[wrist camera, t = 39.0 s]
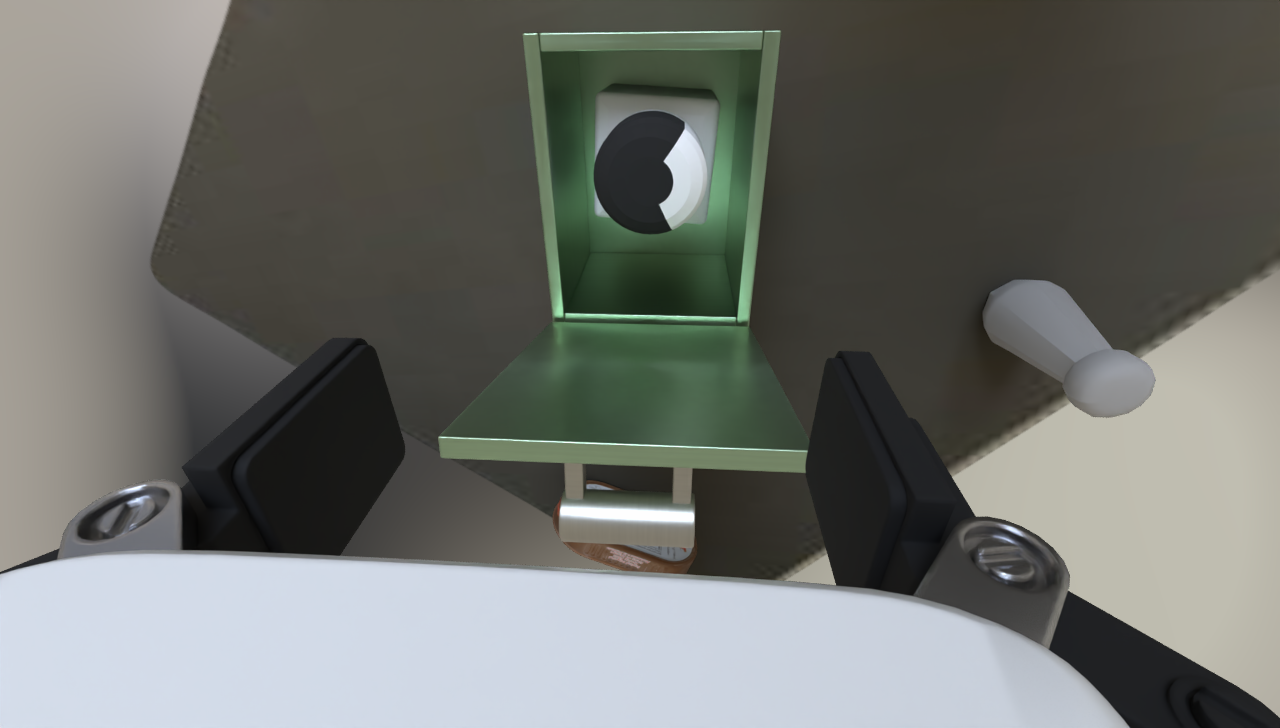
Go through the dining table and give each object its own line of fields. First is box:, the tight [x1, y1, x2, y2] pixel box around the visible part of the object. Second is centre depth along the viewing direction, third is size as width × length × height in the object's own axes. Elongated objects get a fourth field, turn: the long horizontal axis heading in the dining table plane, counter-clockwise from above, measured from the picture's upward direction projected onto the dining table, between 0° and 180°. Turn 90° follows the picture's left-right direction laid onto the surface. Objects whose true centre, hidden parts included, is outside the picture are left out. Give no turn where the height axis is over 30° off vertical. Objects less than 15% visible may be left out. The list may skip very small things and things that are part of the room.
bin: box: [523, 30, 781, 327], centre depth 34 cm, size 16×12×12 cm
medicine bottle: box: [593, 83, 720, 235], centre depth 33 cm, size 7×7×12 cm
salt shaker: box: [982, 280, 1156, 417], centre depth 38 cm, size 6×6×13 cm
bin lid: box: [438, 322, 810, 548], centre depth 26 cm, size 16×12×5 cm
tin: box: [553, 480, 697, 574], centre depth 54 cm, size 15×3×8 cm, turn 67°
